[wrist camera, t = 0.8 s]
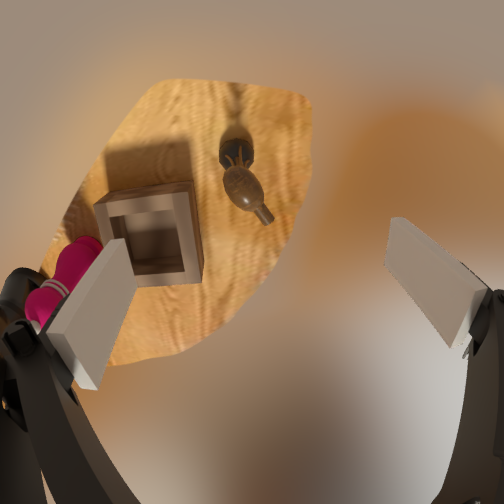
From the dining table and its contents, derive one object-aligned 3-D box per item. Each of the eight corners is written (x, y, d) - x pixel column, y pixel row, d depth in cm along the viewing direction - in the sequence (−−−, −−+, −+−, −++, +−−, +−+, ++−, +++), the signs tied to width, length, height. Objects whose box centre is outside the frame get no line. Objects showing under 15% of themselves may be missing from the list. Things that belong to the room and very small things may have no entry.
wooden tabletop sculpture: (264, 165, 39) (297, 215, 21) (237, 184, 40) (246, 248, 22) (240, 131, 36) (252, 149, 19) (212, 151, 37) (197, 188, 19)
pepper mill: (64, 249, 42) (3, 323, 24) (86, 224, 40) (18, 297, 22) (92, 278, 45) (43, 361, 27) (115, 255, 43) (65, 341, 25)
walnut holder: (127, 268, 44) (116, 288, 39) (109, 192, 38) (93, 204, 33) (204, 261, 45) (201, 283, 39) (193, 180, 39) (187, 191, 33)
